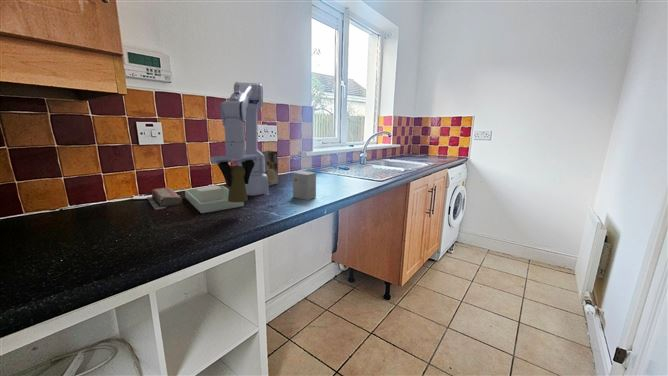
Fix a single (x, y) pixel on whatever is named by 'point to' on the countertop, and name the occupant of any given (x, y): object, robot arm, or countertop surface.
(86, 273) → the countertop surface
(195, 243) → the countertop surface
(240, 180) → the brown rounded lobed piece
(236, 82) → the robot arm
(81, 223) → the countertop surface
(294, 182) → the small box
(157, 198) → the packaged product
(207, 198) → the white box
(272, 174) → the coffee box
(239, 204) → the box
